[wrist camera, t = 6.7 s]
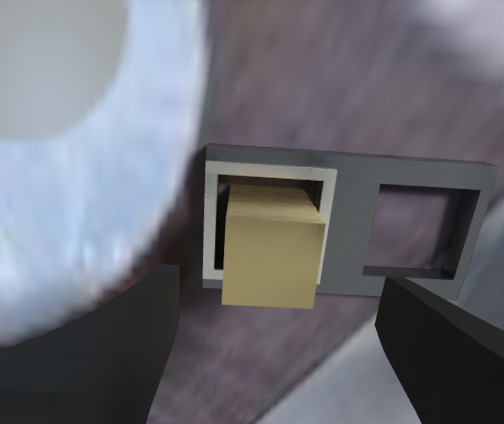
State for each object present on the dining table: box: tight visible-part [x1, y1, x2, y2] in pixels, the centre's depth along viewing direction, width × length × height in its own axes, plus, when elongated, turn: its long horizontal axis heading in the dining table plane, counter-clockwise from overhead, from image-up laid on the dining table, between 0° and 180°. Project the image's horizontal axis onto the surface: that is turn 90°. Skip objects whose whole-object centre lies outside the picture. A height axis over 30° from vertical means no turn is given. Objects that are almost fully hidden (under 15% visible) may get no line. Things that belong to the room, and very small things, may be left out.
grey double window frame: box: [203, 143, 500, 300], centre depth 19 cm, size 15×8×1 cm, turn 86°
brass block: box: [222, 184, 326, 309], centre depth 17 cm, size 4×4×6 cm
